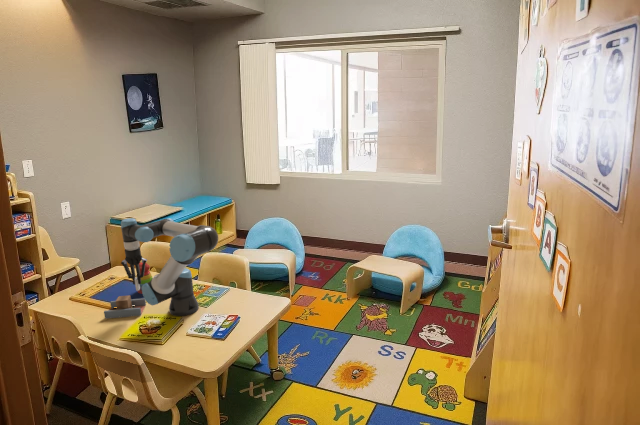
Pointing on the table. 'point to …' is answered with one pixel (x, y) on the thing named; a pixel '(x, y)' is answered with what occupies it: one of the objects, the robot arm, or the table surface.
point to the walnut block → (123, 302)
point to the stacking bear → (146, 277)
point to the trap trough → (134, 311)
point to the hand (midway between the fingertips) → (138, 289)
